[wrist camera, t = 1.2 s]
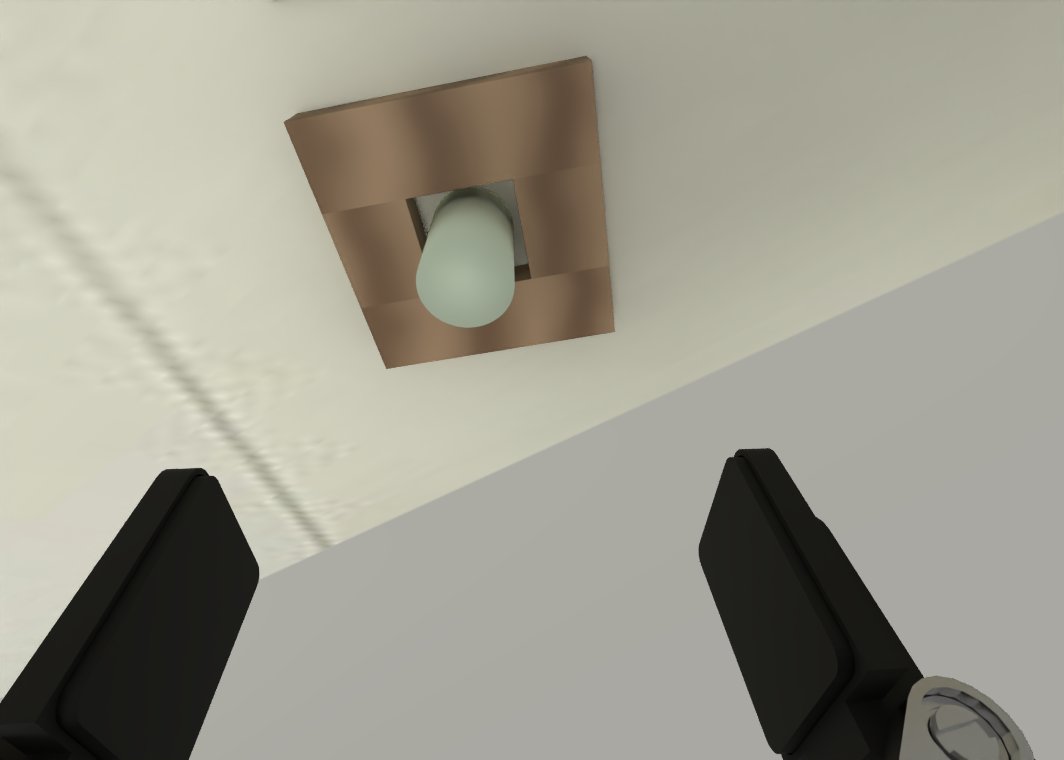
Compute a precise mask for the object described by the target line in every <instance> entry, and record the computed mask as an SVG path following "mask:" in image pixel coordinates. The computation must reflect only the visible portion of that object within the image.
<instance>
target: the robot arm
mask: <svg viewBox="0 0 1064 760" xmlns="http://www.w3.org/2000/svg"><path fill="white" fill-rule="evenodd" d="M699 558H700V563H701V566H702V568H703V571H704V574H705V577H706V579H707V582H708V585H709V587H710V590H711V592H712V595H713V598H714V601H715V603H716V606H717V609H718V611H719V614H720V617H721V619H722V622H723V625H724V627H725V630H726V632H727V635H728V638H729V641H730V643H731V646H732V649H733V651H734V654H735V656H736V659H737V662H738V665H739V667H740V670H741V673H742V675H743V678H744V681H745V684H746V686H747V689H748V691H749V694H750V697H751V699H752V702H753V705H754V708H755V710H756V713H757V716H758V718H759V721H760V724H761V726H762V729H763V732H764V734H765V737H766V740H767V742H768V744H769V746H770V747H771V749H772V750H773V751H774V752H775V753H776V754H781V755H782V758H783V760H1035V759H1034V757H1033V752H1032V750H1031V748H1030V746H1029V744H1028V742H1027V740H1026V738H1025V737H1024V734H1023V733H1022V731H1021V730H1020V729H1019V727H1018V726H1017V725H1016V724H1015V722H1014V721H1013V720H1012V719H1011V718H1010V716H1009V715H1008V714H1007V713H1006V712H1005V711H1004V710H1003V709H1002V708H1001V707H1000V706H998V705H997V704H996V703H995V702H994V701H993V700H992V699H991V698H989V697H988V696H986V695H985V694H983V693H981V692H980V691H978V690H977V689H975V688H974V687H972V686H970V685H967V684H965V683H963V682H960V681H958V680H955V679H953V678H947V677H940V676H932V677H926V678H924V677H923V675H922V674H921V672H920V670H919V669H918V667H917V666H916V665H915V663H914V661H913V660H912V658H911V656H910V655H909V653H908V652H907V650H906V649H905V647H904V645H903V644H902V643H901V641H900V639H899V638H898V636H897V635H896V633H895V631H894V630H893V628H892V627H891V625H890V624H889V622H888V620H887V619H886V617H885V616H884V614H883V613H882V611H881V609H880V608H879V607H878V605H877V603H876V602H875V600H874V599H873V597H872V595H871V594H870V592H869V591H868V589H867V588H866V586H865V584H864V583H863V581H862V580H861V578H860V577H859V575H858V573H857V572H856V570H855V569H854V567H853V566H852V564H851V563H850V561H849V559H848V558H847V556H846V555H845V553H844V552H843V550H842V548H841V547H840V545H839V544H838V542H837V541H836V539H835V538H834V536H833V534H832V533H831V531H830V530H829V528H828V527H827V526H826V525H825V524H824V522H823V521H821V520H820V519H818V518H817V517H815V515H814V514H813V512H812V510H811V509H810V507H809V506H808V504H807V502H806V501H805V499H804V498H803V496H802V494H801V493H800V491H799V490H798V488H797V486H796V485H795V483H794V482H793V480H792V479H791V477H790V475H789V474H788V472H787V471H786V469H785V467H784V466H783V464H782V463H781V461H780V459H779V458H778V456H777V455H776V453H775V452H774V451H773V450H771V449H769V448H766V449H739V450H738V451H737V452H736V453H735V455H734V457H729V458H728V459H727V460H726V463H725V466H724V469H723V472H722V475H721V478H720V481H719V485H718V488H717V491H716V494H715V497H714V500H713V503H712V506H711V509H710V512H709V516H708V519H707V522H706V525H705V529H704V531H703V534H702V537H701V540H700V544H699ZM258 580H259V566H258V563H257V561H256V559H255V557H254V555H253V553H252V551H251V549H250V547H249V545H248V542H247V540H246V538H245V536H244V534H243V532H242V530H241V528H240V526H239V523H238V521H237V519H236V517H235V515H234V513H233V511H232V509H231V507H230V505H229V502H228V500H227V498H226V496H225V494H224V492H223V490H222V488H221V486H220V484H219V481H218V480H217V478H216V477H214V476H209V475H208V473H207V472H206V470H204V469H202V468H190V469H166V470H164V471H162V472H161V473H160V474H159V475H158V476H157V478H156V479H155V481H154V482H153V483H152V485H151V486H150V488H149V489H148V491H147V492H146V494H145V495H144V496H143V498H142V499H141V501H140V502H139V504H138V505H137V507H136V508H135V509H134V511H133V512H132V514H131V515H130V517H129V518H128V520H127V521H126V522H125V524H124V525H123V527H122V528H121V530H120V531H119V533H118V534H117V535H116V537H115V538H114V540H113V541H112V543H111V544H110V546H109V547H108V548H107V550H106V551H105V553H104V554H103V556H102V557H101V559H100V560H99V561H98V563H97V564H96V566H95V567H94V568H93V570H92V571H91V573H90V574H89V576H88V577H87V579H86V580H85V581H84V583H83V584H82V586H81V587H80V589H79V590H78V592H77V593H76V594H75V596H74V597H73V599H72V600H71V602H70V603H69V605H68V606H67V607H66V609H65V610H64V612H63V613H62V615H61V616H60V618H59V619H58V620H57V622H56V623H55V625H54V626H53V628H52V629H51V631H50V632H49V633H48V635H47V636H46V638H45V639H44V641H43V642H42V644H41V645H40V646H39V648H38V649H37V651H36V652H35V654H34V655H33V657H32V658H31V659H30V661H29V662H28V664H27V665H26V667H25V668H24V670H23V671H22V672H21V674H20V675H19V677H18V678H17V680H16V681H15V683H14V684H13V685H12V687H11V688H10V690H9V691H8V693H7V694H6V696H5V697H4V699H3V700H2V701H1V703H0V760H189V757H190V755H191V752H192V750H193V747H194V745H195V742H196V739H197V737H198V735H199V732H200V729H201V727H202V724H203V722H204V719H205V717H206V714H207V711H208V709H209V707H210V704H211V701H212V699H213V696H214V694H215V691H216V689H217V686H218V684H219V681H220V679H221V676H222V674H223V671H224V669H225V666H226V663H227V661H228V658H229V656H230V653H231V651H232V648H233V646H234V643H235V641H236V638H237V636H238V633H239V630H240V628H241V625H242V623H243V620H244V618H245V615H246V613H247V610H248V608H249V605H250V603H251V600H252V597H253V595H254V592H255V590H256V587H257V584H258Z"/></svg>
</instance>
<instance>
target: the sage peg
mask: <svg viewBox="0 0 1064 760" xmlns="http://www.w3.org/2000/svg"><path fill="white" fill-rule="evenodd" d="M416 288H417V292H418V295H419V297H420V300H421V301H422V303H423V305H424V306H425V307H426V309H427V310H428V311H429V312H430V313H431V314H432V315H434V316H435V317H436V318H438V319H439V320H441V321H443V322H445V323H447V324H450V325H453V326H457V327H464V328H472V327H479V326H483V325H486V324H489V323H491V322H493V321H494V320H496V319H497V318H499V317H500V316H501V315H502V314H503V313H504V312H505V311H506V310H507V308H508V307H509V305H510V303H511V301H512V298H513V295H514V290H515V277H514V241H513V221H512V217H511V214H510V211H509V209H508V208H507V206H506V205H505V203H504V202H503V201H502V200H501V199H500V198H499V197H498V196H497V195H495V194H494V193H492V192H490V191H488V190H486V189H483V188H478V187H468V188H462V189H457V190H454V191H452V192H451V193H449V194H448V195H447V196H445V197H444V198H443V199H442V200H441V202H440V203H439V205H438V207H437V209H436V211H435V214H434V217H433V221H432V224H431V227H430V230H429V234H428V237H427V240H426V243H425V247H424V250H423V253H422V256H421V260H420V263H419V266H418V269H417V274H416Z"/></svg>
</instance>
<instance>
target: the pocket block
mask: <svg viewBox="0 0 1064 760" xmlns="http://www.w3.org/2000/svg"><path fill="white" fill-rule="evenodd" d="M284 124H285V126H286V129H287V131H288V134H289V136H290V138H291V141H292V143H293V146H294V148H295V150H296V153H297V155H298V158H299V160H300V163H301V165H302V167H303V170H304V172H305V175H306V177H307V179H308V182H309V184H310V187H311V189H312V191H313V194H314V196H315V199H316V201H317V203H318V206H319V208H320V211H321V213H322V215H323V218H324V220H325V223H326V225H327V227H328V230H329V232H330V235H331V237H332V239H333V242H334V244H335V247H336V249H337V251H338V254H339V256H340V259H341V261H342V263H343V266H344V268H345V271H346V273H347V275H348V278H349V280H350V283H351V285H352V287H353V290H354V292H355V295H356V297H357V299H358V302H359V304H360V307H361V309H362V312H363V314H364V316H365V319H366V321H367V324H368V326H369V328H370V331H371V333H372V336H373V338H374V340H375V343H376V345H377V348H378V350H379V352H380V355H381V357H382V360H383V362H384V364H385V367H386V369H389V368H395V367H401V366H407V365H413V364H419V363H426V362H432V361H438V360H444V359H450V358H456V357H463V356H469V355H475V354H481V353H487V352H493V351H500V350H506V349H512V348H518V347H524V346H530V345H537V344H543V343H549V342H555V341H561V340H568V339H574V338H580V337H586V336H592V335H598V334H605V333H611V332H615V328H614V317H613V305H612V293H611V282H610V270H609V258H608V246H607V235H606V223H605V211H604V200H603V188H602V176H601V165H600V153H599V141H598V130H597V118H596V106H595V94H594V83H593V71H592V61H591V60H590V59H589V58H588V57H587V56H584V57H579V58H574V59H569V60H564V61H559V62H554V63H549V64H544V65H539V66H534V67H529V68H524V69H519V70H514V71H509V72H504V73H499V74H494V75H489V76H484V77H479V78H474V79H469V80H464V81H459V82H454V83H449V84H444V85H439V86H434V87H429V88H424V89H418V90H413V91H408V92H403V93H398V94H393V95H388V96H383V97H378V98H373V99H368V100H363V101H358V102H353V103H348V104H343V105H338V106H333V107H328V108H323V109H318V110H313V111H308V112H303V113H298V114H296V115H294V116H293V117H291V118H290V119H288V120H286V121H285V122H284ZM511 179H513V182H514V188H515V193H516V199H517V204H518V209H519V215H520V220H521V226H522V231H523V236H524V242H525V247H526V253H527V258H528V263H529V264H528V265H522V266H516V267H514V277H515V290H514V295H513V298H512V301H511V303H510V305H509V307H508V308H507V310H506V311H505V312H504V313H503V314H502V315H501V316H500V317H499V318H497V319H496V320H494V321H493V322H491V323H489V324H486V325H483V326H479V327H472V328H464V327H457V326H453V325H450V324H447V323H445V322H443V321H441V320H439V319H438V318H436V317H435V316H434V315H432V314H431V313H430V312H429V311H428V310H427V309H426V307H425V306H424V305H423V303H422V301H421V300H420V297H419V295H418V292H417V288H416V274H417V269H418V266H419V263H420V260H421V256H422V253H423V250H424V247H425V243H426V240H427V239H426V236H425V232H424V229H423V226H422V223H421V219H420V216H419V213H418V209H417V206H416V203H415V199H414V197H419V196H424V195H430V194H435V193H441V192H446V191H451V190H457V189H462V188H468V187H473V186H478V185H484V184H489V183H495V182H500V181H506V180H511Z"/></svg>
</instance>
